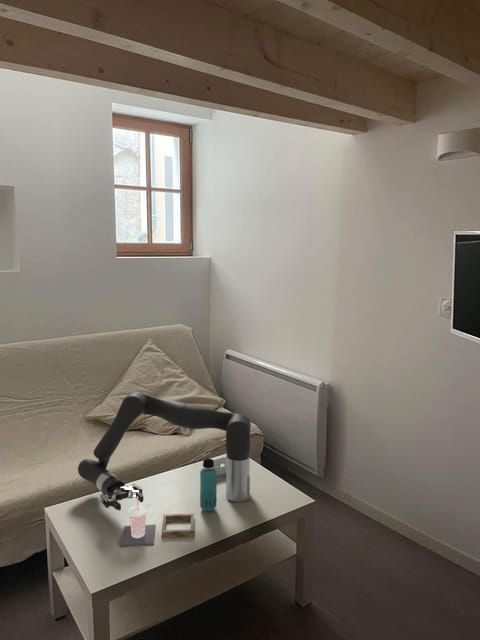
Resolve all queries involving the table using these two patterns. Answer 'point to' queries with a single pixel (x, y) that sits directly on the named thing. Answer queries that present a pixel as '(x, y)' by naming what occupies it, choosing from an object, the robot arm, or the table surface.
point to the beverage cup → (137, 520)
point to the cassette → (217, 466)
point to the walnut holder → (177, 532)
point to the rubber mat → (145, 540)
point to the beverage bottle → (208, 485)
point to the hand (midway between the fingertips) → (131, 503)
